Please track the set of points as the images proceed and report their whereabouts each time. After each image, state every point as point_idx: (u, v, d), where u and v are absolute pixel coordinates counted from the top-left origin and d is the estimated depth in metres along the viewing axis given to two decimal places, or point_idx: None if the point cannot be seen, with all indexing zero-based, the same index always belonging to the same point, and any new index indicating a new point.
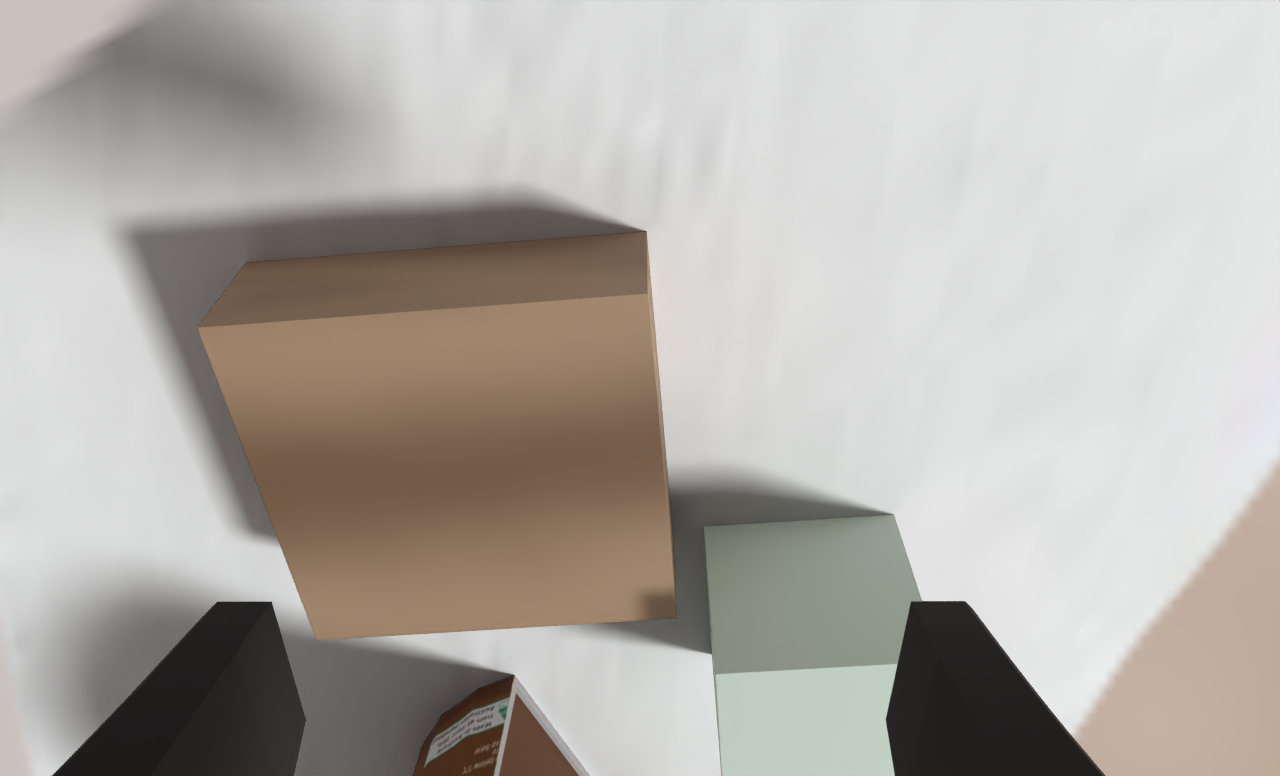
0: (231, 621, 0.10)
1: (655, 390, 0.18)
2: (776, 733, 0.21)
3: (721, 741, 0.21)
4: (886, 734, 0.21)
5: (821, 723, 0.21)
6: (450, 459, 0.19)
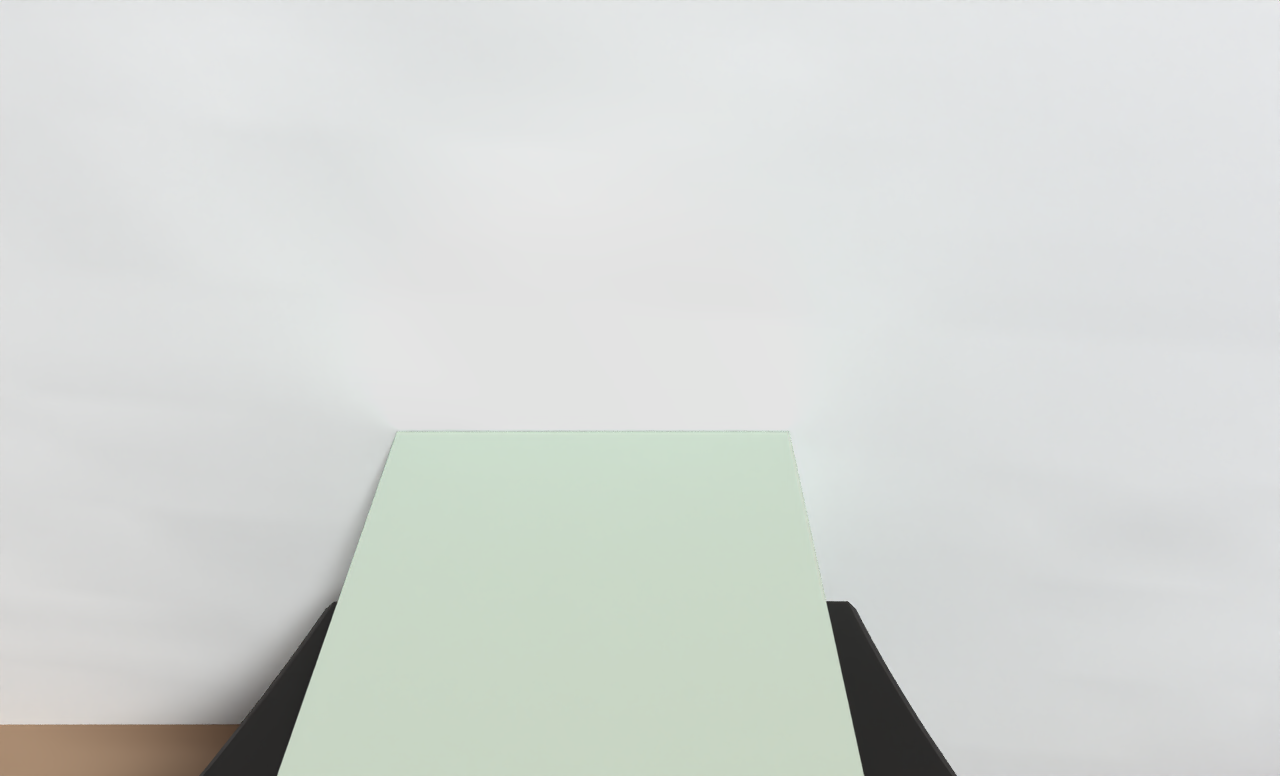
0: None
1: None
2: None
3: None
4: None
5: None
6: None
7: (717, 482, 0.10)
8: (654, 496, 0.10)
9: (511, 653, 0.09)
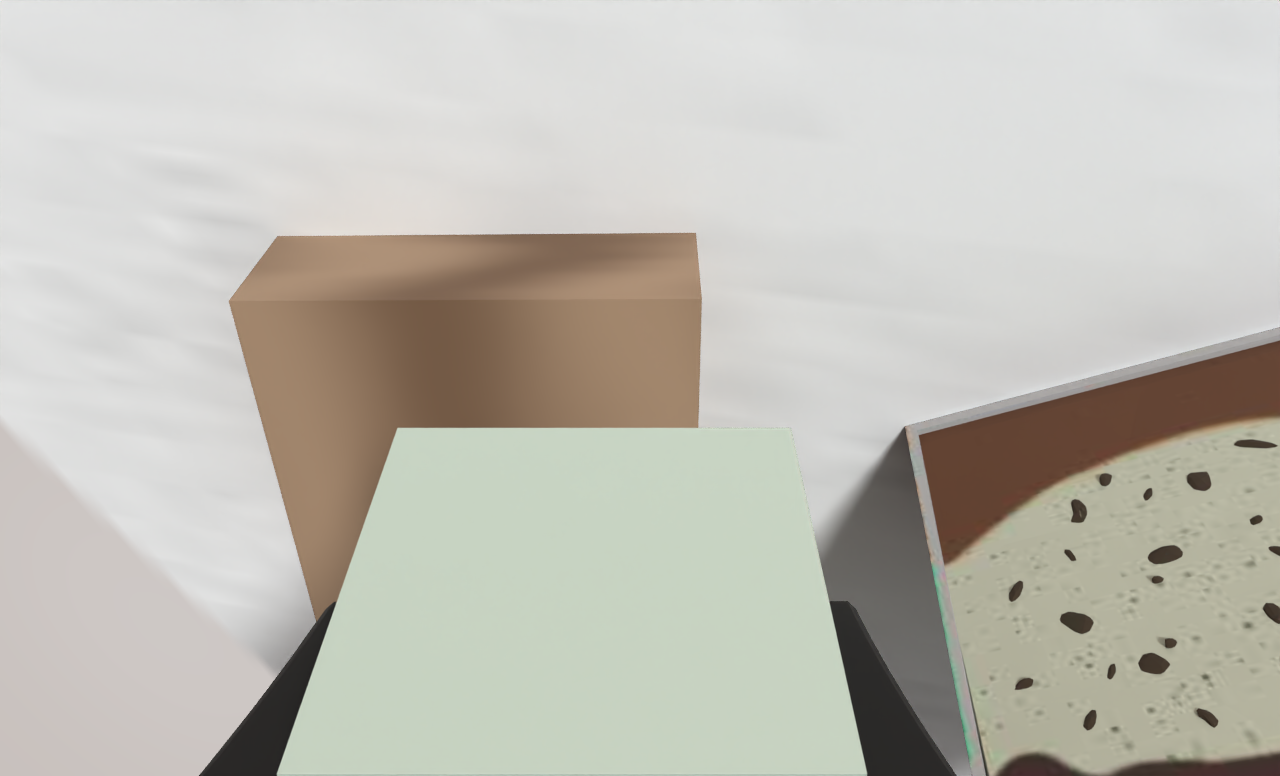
0: None
1: (348, 301, 0.17)
2: None
3: None
4: None
5: None
6: None
7: (719, 478, 0.10)
8: (655, 492, 0.10)
9: (511, 650, 0.09)
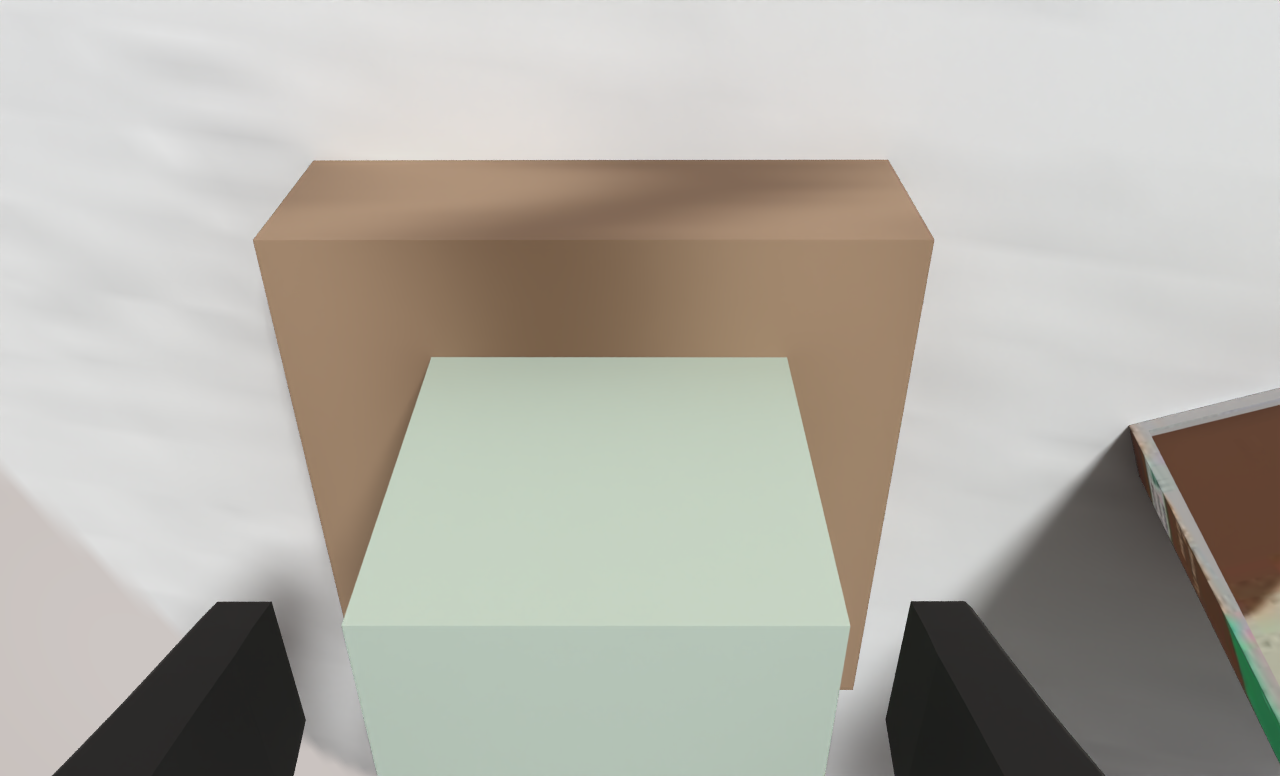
0: (231, 621, 0.10)
1: (426, 241, 0.12)
2: None
3: None
4: (593, 698, 0.09)
5: None
6: None
7: (722, 398, 0.12)
8: (665, 409, 0.11)
9: (540, 532, 0.10)
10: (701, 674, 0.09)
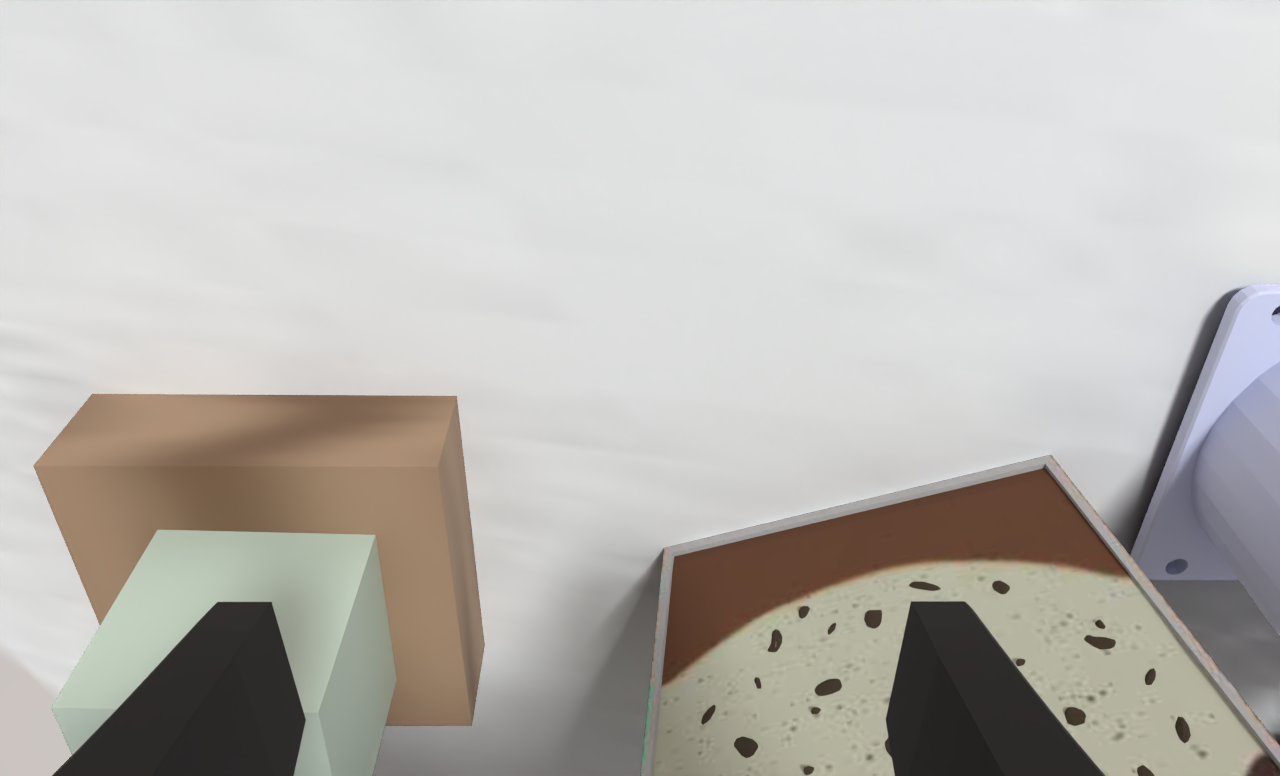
0: (231, 620, 0.10)
1: (136, 466, 0.20)
2: None
3: None
4: None
5: None
6: None
7: (321, 564, 0.20)
8: (283, 572, 0.20)
9: None
10: None
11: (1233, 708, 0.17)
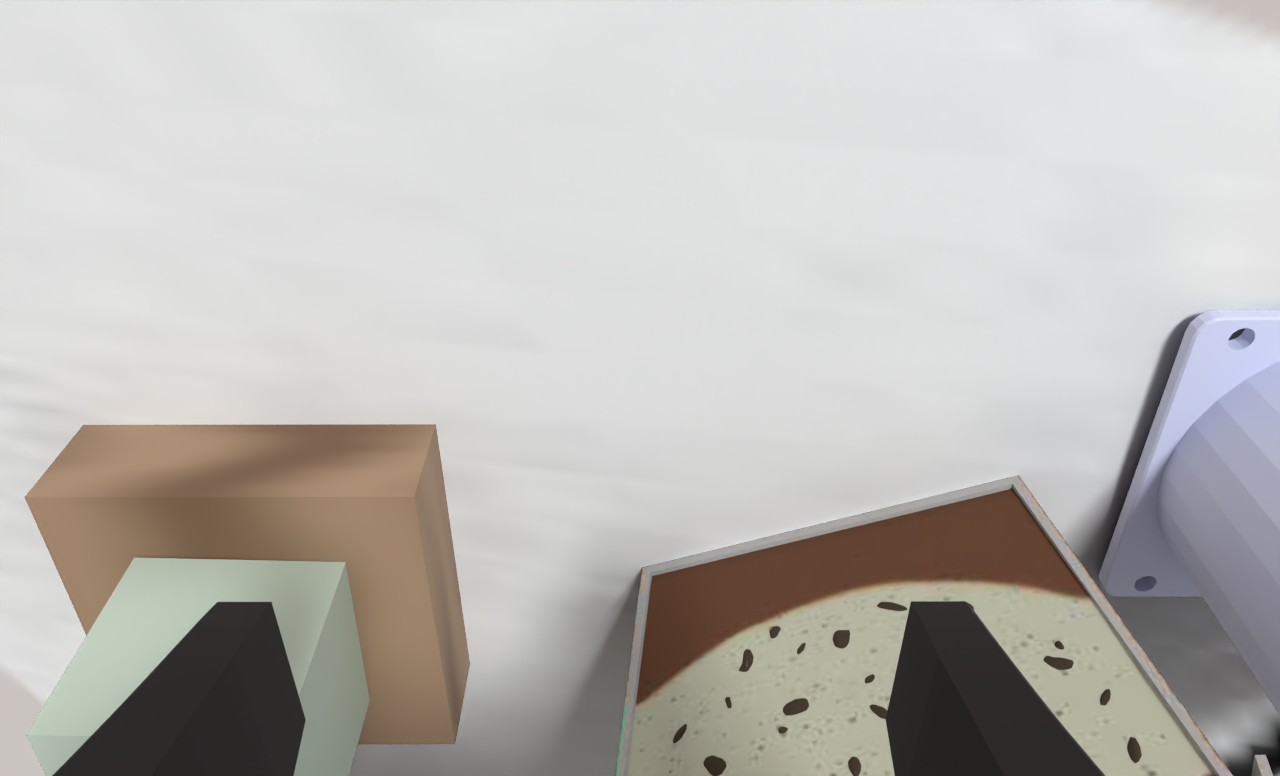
0: (231, 621, 0.10)
1: (124, 497, 0.20)
2: None
3: None
4: None
5: None
6: None
7: (291, 592, 0.20)
8: (255, 599, 0.20)
9: None
10: None
11: (1182, 728, 0.17)
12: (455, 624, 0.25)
